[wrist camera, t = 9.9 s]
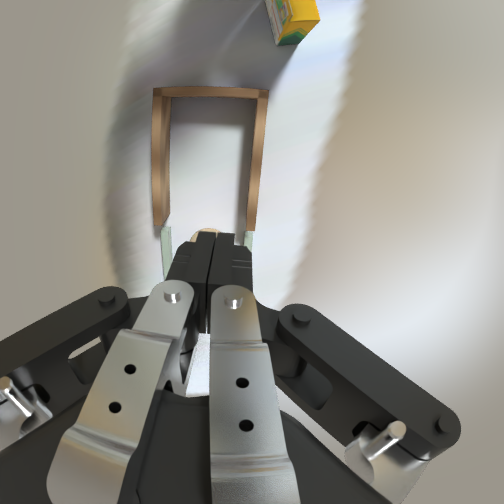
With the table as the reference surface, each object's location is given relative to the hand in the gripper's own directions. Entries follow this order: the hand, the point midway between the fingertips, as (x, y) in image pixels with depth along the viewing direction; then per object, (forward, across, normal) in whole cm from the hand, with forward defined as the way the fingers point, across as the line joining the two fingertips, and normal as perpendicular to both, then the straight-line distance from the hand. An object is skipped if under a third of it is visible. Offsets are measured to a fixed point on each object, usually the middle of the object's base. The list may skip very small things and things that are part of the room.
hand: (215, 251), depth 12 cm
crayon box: (+24, -4, -18) cm, 30 cm away
